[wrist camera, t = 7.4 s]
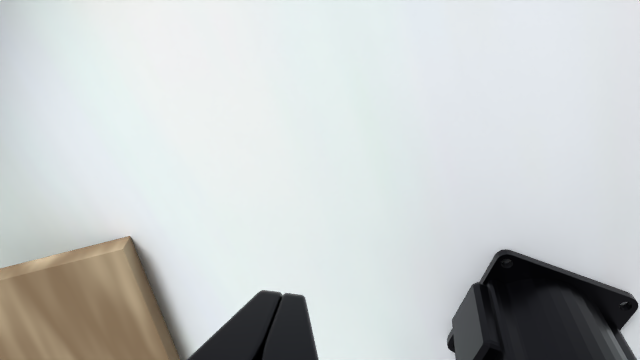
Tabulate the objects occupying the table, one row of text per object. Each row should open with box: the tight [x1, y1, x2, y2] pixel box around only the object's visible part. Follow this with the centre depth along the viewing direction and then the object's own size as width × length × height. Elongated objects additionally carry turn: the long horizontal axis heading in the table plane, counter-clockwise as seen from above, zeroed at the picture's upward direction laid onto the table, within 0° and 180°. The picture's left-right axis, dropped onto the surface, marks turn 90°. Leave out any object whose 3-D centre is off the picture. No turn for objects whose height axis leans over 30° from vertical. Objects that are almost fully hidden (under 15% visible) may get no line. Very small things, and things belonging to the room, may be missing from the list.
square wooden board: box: [0, 236, 180, 360], centre depth 25 cm, size 2×10×10 cm
